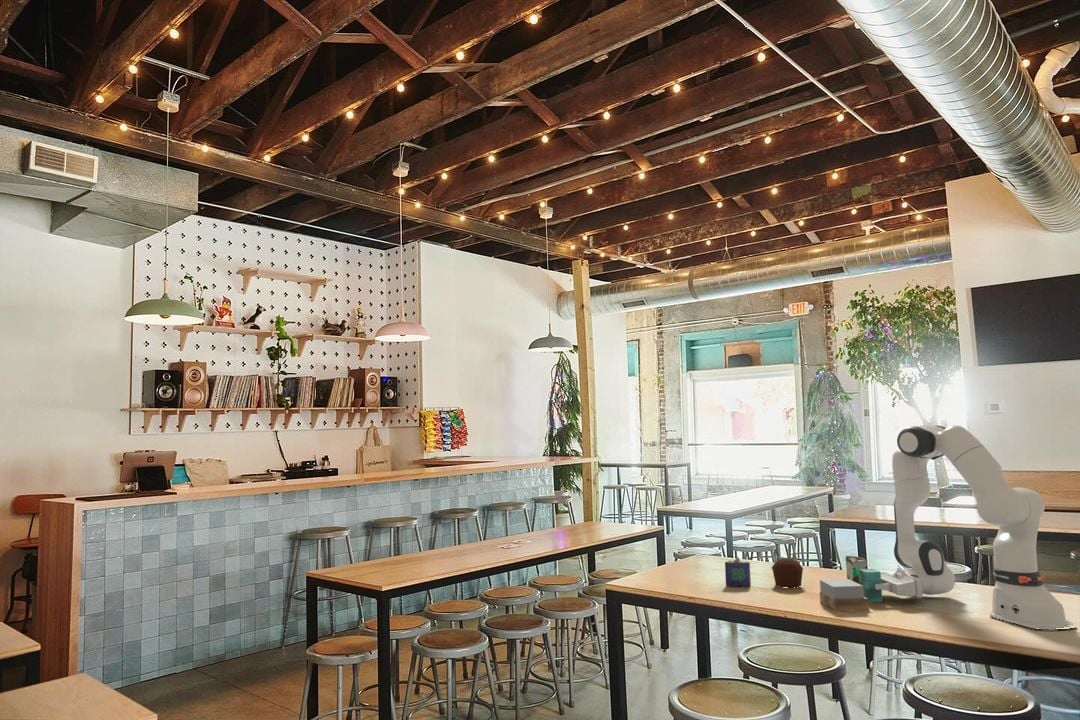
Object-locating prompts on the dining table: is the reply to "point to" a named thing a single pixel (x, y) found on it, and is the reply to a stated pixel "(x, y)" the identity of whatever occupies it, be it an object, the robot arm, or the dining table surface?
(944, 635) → the dining table surface
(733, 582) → the flask
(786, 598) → the dining table surface
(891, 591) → the robot arm
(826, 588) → the tower top
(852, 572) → the food container
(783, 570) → the muffin
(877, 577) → the teal block
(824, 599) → the block
